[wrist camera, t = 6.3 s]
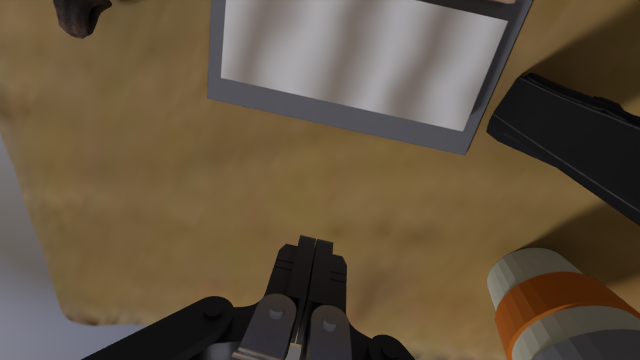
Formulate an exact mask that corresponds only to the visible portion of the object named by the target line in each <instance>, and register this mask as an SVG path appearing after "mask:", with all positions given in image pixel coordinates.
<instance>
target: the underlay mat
mask: <svg viewBox="0 0 640 360" xmlns="http://www.w3.org/2000/svg"><path fill="white" fill-rule="evenodd" d="M417 1H421V2H426V3H430V4H435V5H439V6H444V7H448V8H452V9H457V10H461V11H466V12H470V13H474V14H479V15H483V16H488V17H492V18H496V19H501V20H505V21H508V23H507V25H506V28H505V30H504V32H503V35H502V37H501V40H500V42H499V45H498V47H497V50H496V52H495V54H494V57H493V59H492V62H491V64H490V67H489V69H488V72H487V74H486V76H485V79H484V81H483V84H482V86H481V89H480V91H479V93H478V96H477V98H476V101H475V103H474V106H473V108H472V111H471V113H470V115H469V118H468V120H467V123H466V125H465V128H464V130H463V131H458V130H454V129H449V128H445V127H440V126H436V125H431V124H427V123H422V122H418V121H413V120H409V119H404V118H400V117H395V116H391V115H386V114H382V113H377V112H373V111H368V110H364V109H359V108H355V107H350V106H346V105H341V104H337V103H332V102H328V101H323V100H319V99H314V98H310V97H305V96H301V95H296V94H292V93H287V92H283V91H278V90H274V89H269V88H265V87H260V86H256V85H252V84H247V83H243V82H238V81H234V80H229V79H225V78H221V68H222V52H223V37H224V22H225V7H226V0H211V20H210V43H209V66H208V90H207V98H208V99H213V100H217V101H222V102H226V103H231V104H235V105H240V106H244V107H249V108H253V109H258V110H262V111H267V112H271V113H276V114H280V115H285V116H289V117H294V118H298V119H303V120H307V121H312V122H316V123H321V124H325V125H330V126H334V127H339V128H343V129H348V130H352V131H357V132H361V133H366V134H370V135H375V136H379V137H384V138H388V139H393V140H398V141H402V142H407V143H411V144H416V145H420V146H425V147H429V148H434V149H438V150H443V151H447V152H452V153H456V154H461V155H465V154H466V152H467V149H468V147H469V145H470V142H471V140H472V138H473V136H474V133H475V131H476V129H477V126H478V124H479V122H480V119H481V117H482V115H483V113H484V110H485V108H486V106H487V103H488V101H489V99H490V97H491V94H492V92H493V90H494V87H495V85H496V83H497V80H498V78H499V76H500V74H501V71H502V69H503V67H504V64H505V62H506V60H507V58H508V55H509V53H510V51H511V48H512V46H513V44H514V41H515V39H516V37H517V35H518V32H519V30H520V28H521V25H522V23H523V21H524V19H525V16H526V14H527V12H528V9H529V7H530V5H531V2H532V0H516V1H515V3H511V4H501V3H497V2H492V1H488V0H417Z"/></svg>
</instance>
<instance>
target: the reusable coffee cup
mask: <svg viewBox="0 0 640 360" xmlns="http://www.w3.org/2000/svg"><path fill="white" fill-rule="evenodd" d="M487 285H488V288H489V292H490V295H491V298H492V301H493V304H494V307H495V310H496V313H495V321H496V325H497V329H498V332H499V335H500V338H501V341H502V344H503V347H504V351H505V354H506V357H507V360H640V313H639V312H637V311H636V310H635V309H634V308H632V307H631V306H630V305H629V304H627V303H626V302H625V301H624V300H622V299H621V298H620V297H619V296H617V295H616V294H615V293H614V292H612V291H611V290H610V289H609V288H607V287H606V286H605V285H604V284H602V283H601V282H599V281H598V280H597V279H595V278H593V277H590V276H588V275H586V274H583V273H582V272H581V271H580V270H578V269H577V268H576V267H575V266H573V265H572V264H571V263H570V262H569V261H567V260H566V259H565V258H564V257H562V256H561V255H560V254H558V253H557V252H554V251H552V250H549V249H545V248H526V249H521V250H517V251H515V252H512V253H510V254H508V255H506V256H505V257H503V258H502V259H500V260H499V261H498V262H497V263H496V264H495V265H494V266H493V267H492V269H491V271H490V273H489V276H488V281H487Z"/></svg>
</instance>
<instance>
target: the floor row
mask: <svg viewBox="0 0 640 360" xmlns="http://www.w3.org/2000/svg"><path fill="white" fill-rule="evenodd" d="M488 1H492V2H497V3H501V4H511V3H515V1H516V0H488Z"/></svg>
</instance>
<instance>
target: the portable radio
mask: <svg viewBox="0 0 640 360" xmlns="http://www.w3.org/2000/svg"><path fill="white" fill-rule="evenodd" d="M486 132H487V133H488V134H489V135H491V136H492V137H493V138H495V139H496V140H497V141H499V142H501V143H503V144H505V145H507V146H510V147H512V148H514V149H516V150H519V151H521V152H523V153H525V154H528V155H530V156H532V157H534V158H536V159H539V160H541V161H543V162H545V163H548V164H550V165H552V166H554V167H556V168H558V169H559V170H561V171H562V172H563V173H565V174H566V175H568V176H569V177H571V178H572V179H573V180H575V181H576V182H578V183H579V184H581V185H582V186H583V187H585V188H586V189H588V190H589V191H591V192H592V193H593V194H595V195H596V196H598V197H599V198H601V199H602V200H603V201H605V202H606V203H608V204H609V205H611V206H612V207H613V208H615V209H616V210H618V211H619V212H621V213H622V214H623V215H625V216H626V217H628V218H629V219H631V220H632V221H633V222H635V223H636V224H638V225H639V226H640V117H639V116H635V115H632V114H630V113H628V112H626V111H624V109H623V108H622V107H621V106H620V104H618V103H615V102H613V101H610V100H608V99H605V98H602V97H596V96H594V97H590V96H587V95H585V94H582V93H579V92H576V91H574V90H571V89H568V88H566V87H563V86H561V85H558V84H556V83H553V82H551V81H549V80H547V79H545V78H543V77H541V76H538V75H536V74H534V73H529V74H528V75H527V76H526V77H522V76H520V77H518V78H517V79H516V81H515V82H514V84H513V85H512V86H511V88H510V89H509V91H508V92H507V94H506V95H505V97H504V98H503V99H502V101H501V102H500V104H499V105H498V107H497V108H496V110H495V111H494V113H493V115H492V117H491V119H490V121H489V124H488V127H487V131H486Z"/></svg>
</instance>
